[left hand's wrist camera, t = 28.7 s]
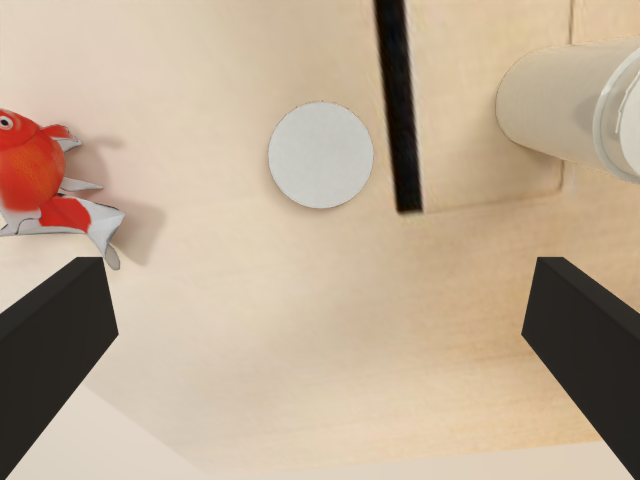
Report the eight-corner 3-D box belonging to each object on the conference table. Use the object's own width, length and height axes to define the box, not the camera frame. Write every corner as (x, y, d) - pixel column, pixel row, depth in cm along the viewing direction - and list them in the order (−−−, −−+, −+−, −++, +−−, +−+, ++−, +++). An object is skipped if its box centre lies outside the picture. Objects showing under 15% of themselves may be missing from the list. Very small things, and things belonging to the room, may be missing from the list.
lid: (280, 209, 39) (278, 216, 38) (260, 109, 36) (257, 111, 34) (376, 195, 39) (379, 201, 37) (365, 92, 35) (367, 93, 34)
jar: (598, 40, 34) (803, 13, 20) (586, 142, 37) (757, 183, 23) (497, 53, 34) (625, 36, 20) (493, 152, 37) (602, 200, 23)
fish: (111, 83, 31) (5, 163, 24) (181, 230, 42) (121, 311, 36) (4, 74, 34) (-115, 144, 27) (97, 214, 45) (27, 286, 39)
